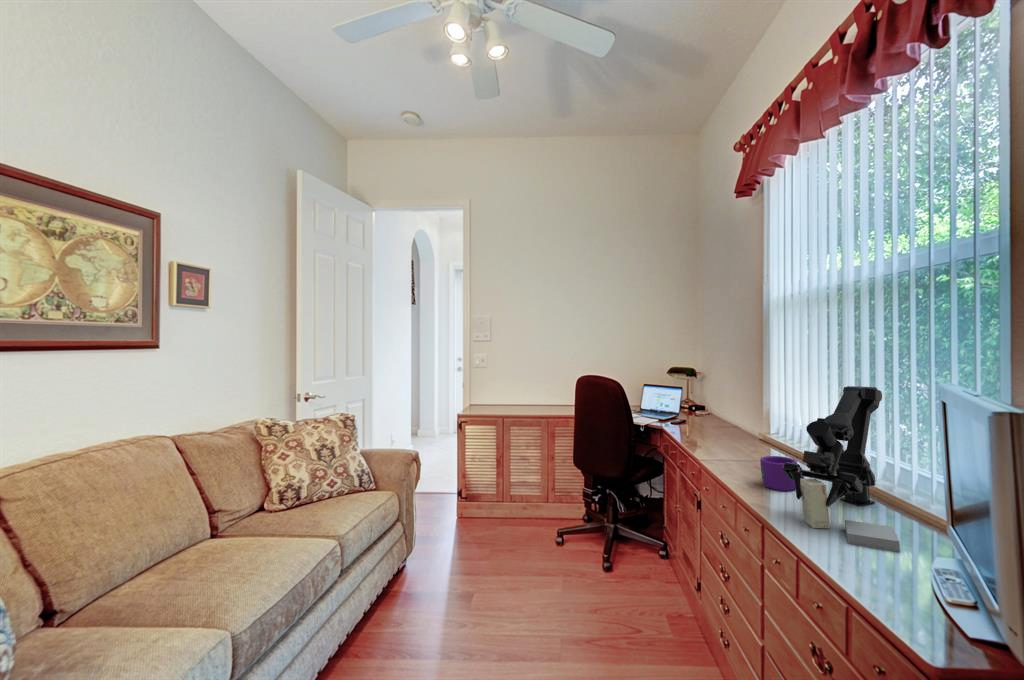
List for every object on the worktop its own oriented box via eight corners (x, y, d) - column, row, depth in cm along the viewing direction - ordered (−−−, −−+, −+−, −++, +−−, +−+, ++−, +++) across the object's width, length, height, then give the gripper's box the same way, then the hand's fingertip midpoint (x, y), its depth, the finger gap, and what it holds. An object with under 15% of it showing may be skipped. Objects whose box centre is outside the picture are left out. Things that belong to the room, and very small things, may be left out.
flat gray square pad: (845, 530, 118) (844, 519, 118) (893, 537, 113) (892, 526, 113) (848, 545, 110) (847, 533, 110) (900, 553, 105) (899, 541, 105)
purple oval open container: (800, 494, 146) (799, 464, 147) (762, 490, 152) (760, 462, 152) (795, 479, 162) (793, 453, 162) (760, 476, 167) (758, 451, 167)
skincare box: (830, 529, 119) (827, 484, 119) (813, 528, 119) (810, 484, 120) (818, 520, 125) (816, 478, 125) (802, 519, 126) (799, 477, 126)
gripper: (783, 435, 133) (766, 478, 127) (855, 445, 117) (840, 494, 111) (797, 456, 137) (781, 499, 131) (869, 469, 121) (855, 517, 115)
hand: (812, 502), depth 122 cm, fingers closed on skincare box, 7 cm apart
